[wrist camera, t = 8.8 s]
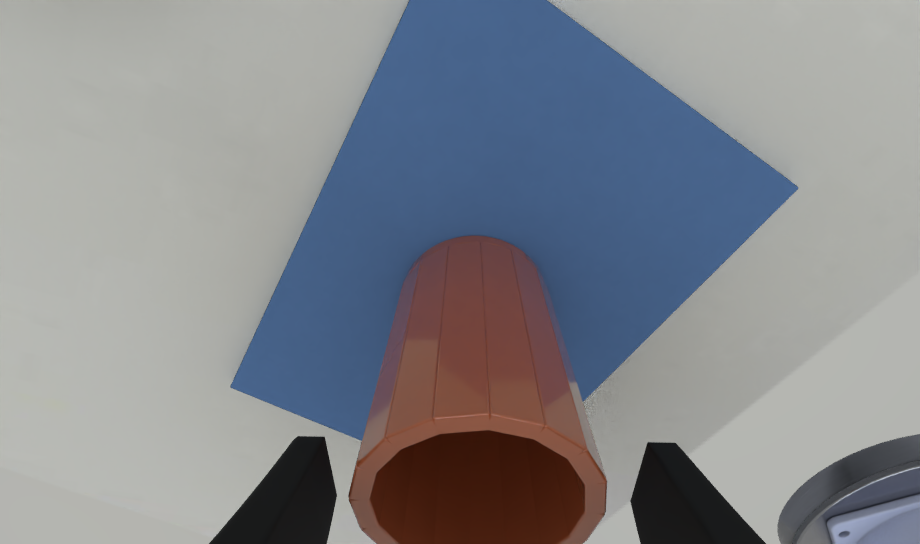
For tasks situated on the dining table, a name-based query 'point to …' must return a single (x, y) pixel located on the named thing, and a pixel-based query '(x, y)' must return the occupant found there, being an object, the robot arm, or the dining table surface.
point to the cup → (477, 411)
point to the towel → (505, 199)
